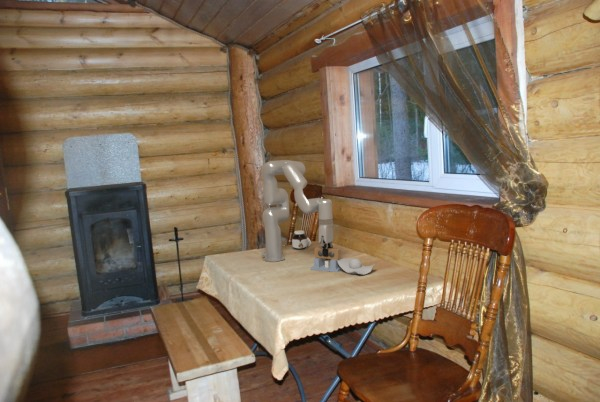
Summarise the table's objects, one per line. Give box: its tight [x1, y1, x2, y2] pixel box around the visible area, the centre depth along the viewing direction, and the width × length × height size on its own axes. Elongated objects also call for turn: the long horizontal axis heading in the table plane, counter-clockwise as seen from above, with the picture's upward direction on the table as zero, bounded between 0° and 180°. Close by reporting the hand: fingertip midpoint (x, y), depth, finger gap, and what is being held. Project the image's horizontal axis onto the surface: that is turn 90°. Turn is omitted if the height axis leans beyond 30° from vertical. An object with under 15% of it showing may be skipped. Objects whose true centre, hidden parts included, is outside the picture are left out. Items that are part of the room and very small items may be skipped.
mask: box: [337, 257, 376, 276], centre depth 251 cm, size 20×8×15 cm
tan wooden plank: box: [314, 246, 342, 260], centre depth 258 cm, size 14×4×5 cm, turn 62°
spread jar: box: [291, 230, 312, 251], centre depth 316 cm, size 12×11×12 cm
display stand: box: [310, 257, 343, 273], centre depth 259 cm, size 16×10×6 cm, turn 62°
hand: (327, 255), depth 258 cm, fingers closed on tan wooden plank, 3 cm apart
